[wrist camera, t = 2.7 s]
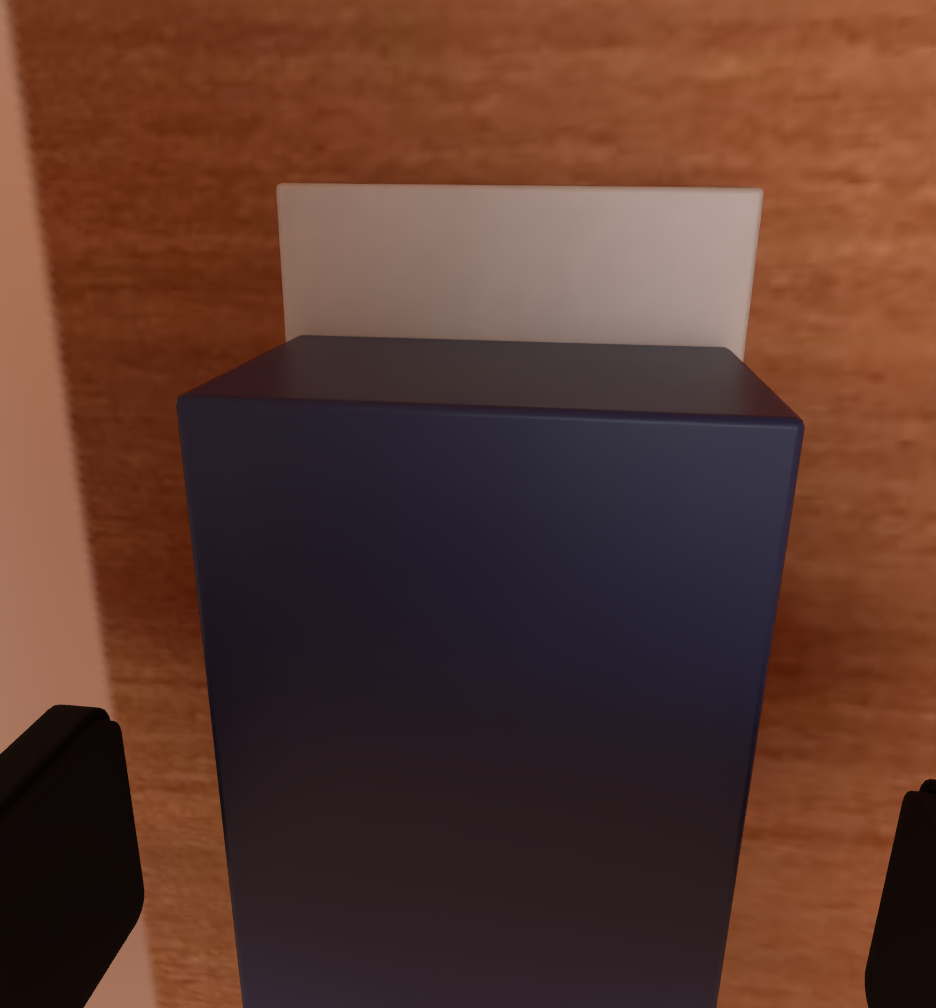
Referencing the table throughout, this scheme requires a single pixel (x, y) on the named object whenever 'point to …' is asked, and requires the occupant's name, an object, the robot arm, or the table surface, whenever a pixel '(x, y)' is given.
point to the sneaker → (491, 595)
